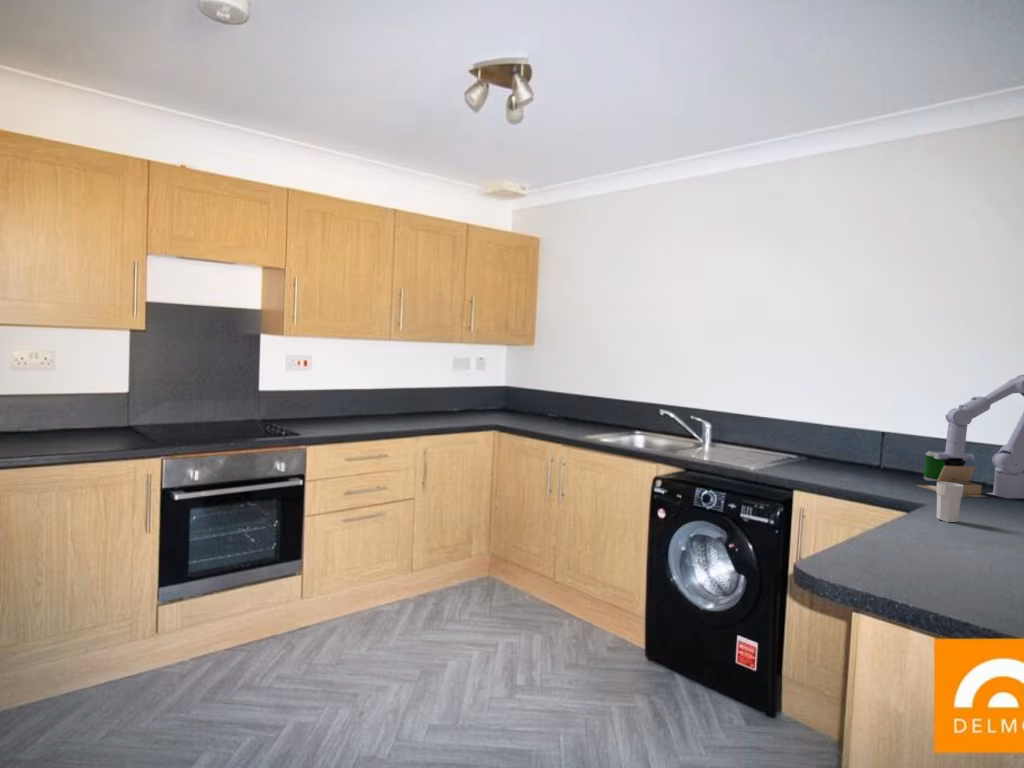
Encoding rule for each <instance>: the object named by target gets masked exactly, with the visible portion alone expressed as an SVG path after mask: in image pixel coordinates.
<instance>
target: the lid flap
mask: <svg viewBox="0 0 1024 768" xmlns="http://www.w3.org/2000/svg"><path fill="white" fill-rule="evenodd" d="M975 469H976V466H973V465H972V466H971V465H969V466H965V465H963V466H944V467H943V469H942V472H941V474H940V476H939V478H938V481H949V482H970V479H971V477H972V475H973V474H974V471H975ZM952 479H956V480H952Z"/></svg>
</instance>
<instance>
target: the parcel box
mask: <svg viewBox="0 0 1024 768" xmlns="http://www.w3.org/2000/svg"><path fill="white" fill-rule="evenodd" d="M938 482H951V483H957V484H961V485H963V486H964V487H963V494H962V495H982V487H983V486H982V485H981V484H977V483H973V482H970V481H938Z"/></svg>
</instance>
